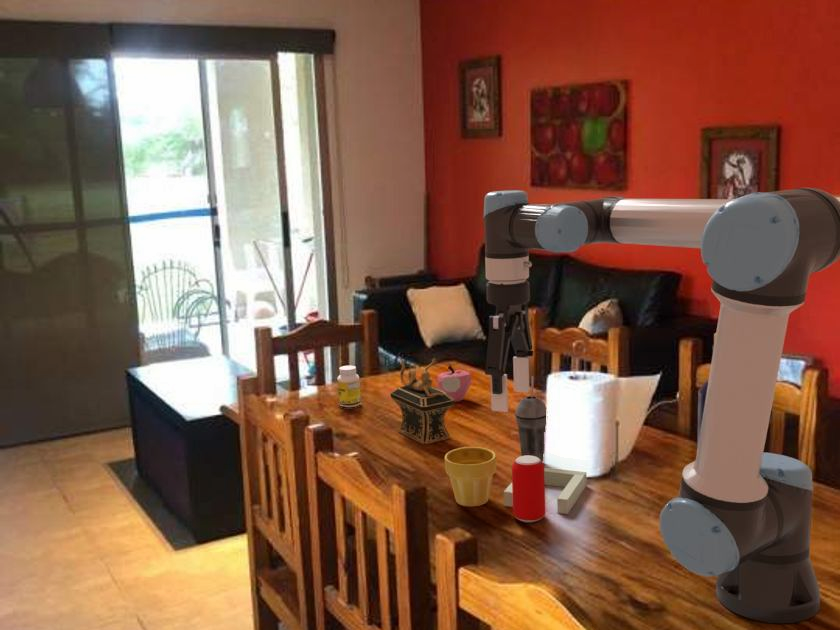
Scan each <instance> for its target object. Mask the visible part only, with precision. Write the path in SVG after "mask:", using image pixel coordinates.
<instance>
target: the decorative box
mask: <svg viewBox="0 0 840 630" xmlns="http://www.w3.org/2000/svg"><path fill="white" fill-rule="evenodd" d="M397 357H398V358H399V359H400V361H399V364H400V365H401V368H400V373H399V379H400V381H401V383H402V385H403V386H399V387H397V388H396V389H393V391H391V392H390V397H391V399H392V400H393V402H395V403H396V404H397V405H398V406H399V408H400V410H401V415H402V417H401V422H400V425H399V427H398V429H397V432H398V433H400V434H402V435H404V436H406V437H407V438H409V439H412V440H414V441H416V442H418V443H419V444H422V445H429V443H430V444H433V442H434V443H436V442H437V443H438V442H441V441H445V440H448V439H450V438H451V436H450V433H449V431H448V430H447V427H446V425H445V417H446V413H447V412H448V411H449V410H450V409H451V408H452V407H453V406H455V403H456V402H455V401H454V399H453V398H452V397H450V396H449V395H448V394H447V393H445V392H443V391H440V389H439V388H435V387H432V384H433V379H431V375H430V372H429V369H430V368H431V367H432V365H434V364H436V363H437V362H438V360H436V357H433V359H432V360H431V363H429V364H428V365H427V366H425V368H424V371H423V372H422V374H421V376H420V377H421V380H419V379H418V378H416V376H417V370H416V369H415V368H411V369H409V371H408V377H407V378H408V382H405V380H404V373H405V370H406V365H405V361H404V360H403V358H402V357H401V356H397Z"/></svg>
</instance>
